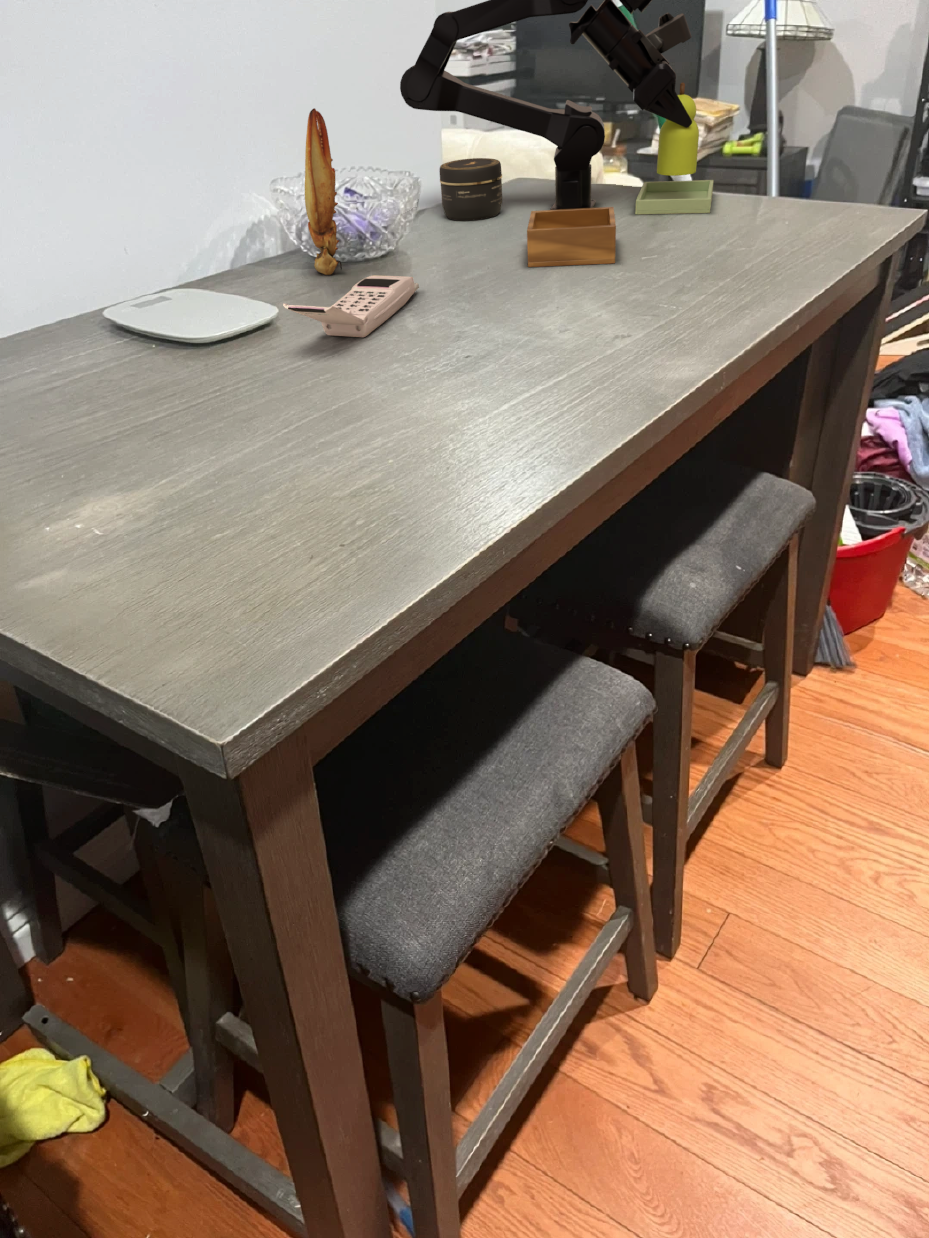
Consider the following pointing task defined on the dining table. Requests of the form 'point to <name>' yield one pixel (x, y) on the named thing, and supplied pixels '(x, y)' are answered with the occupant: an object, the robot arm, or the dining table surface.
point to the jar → (471, 188)
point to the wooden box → (571, 237)
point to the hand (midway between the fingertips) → (688, 123)
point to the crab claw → (320, 193)
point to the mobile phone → (362, 306)
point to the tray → (675, 197)
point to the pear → (679, 143)
